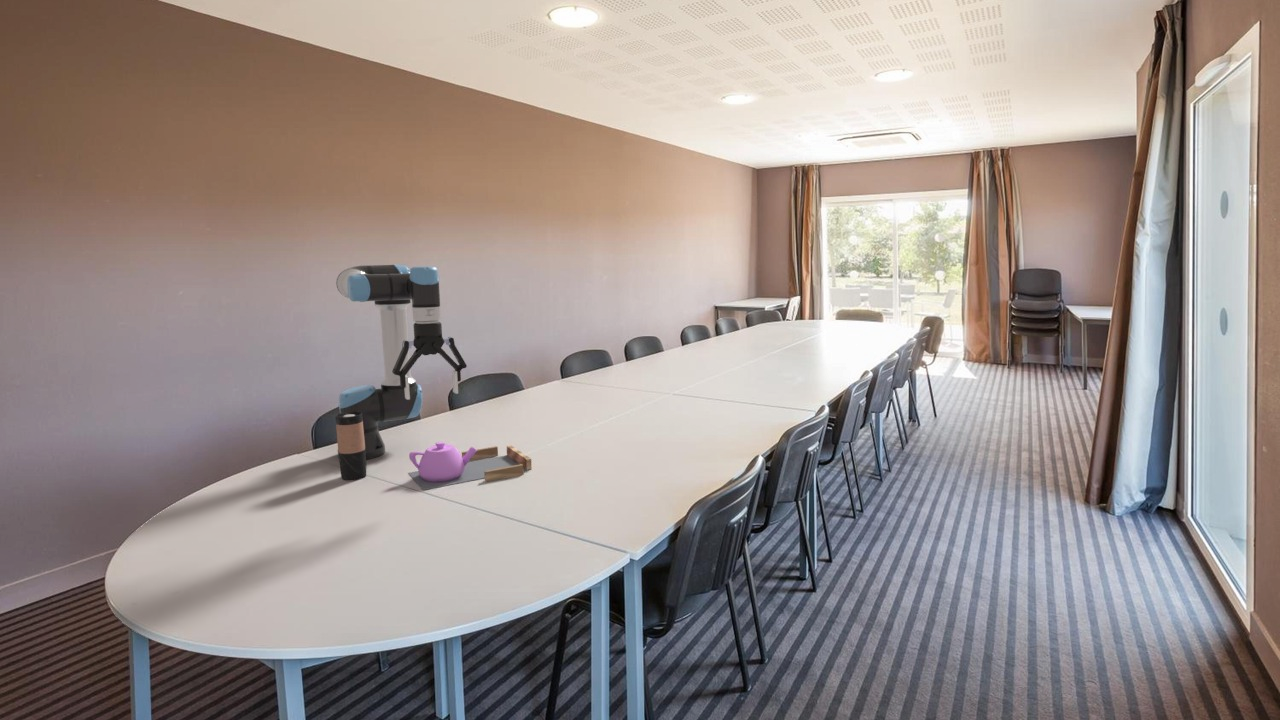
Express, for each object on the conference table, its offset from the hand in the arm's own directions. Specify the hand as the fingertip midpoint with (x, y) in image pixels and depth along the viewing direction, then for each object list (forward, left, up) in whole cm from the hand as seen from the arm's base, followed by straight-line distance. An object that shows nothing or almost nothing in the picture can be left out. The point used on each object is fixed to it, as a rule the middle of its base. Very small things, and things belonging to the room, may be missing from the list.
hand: (432, 395), depth 185 cm
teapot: (-10, +5, -28) cm, 30 cm away
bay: (-10, +21, -28) cm, 36 cm away
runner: (-10, +13, -28) cm, 32 cm away
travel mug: (-25, -19, -28) cm, 42 cm away
